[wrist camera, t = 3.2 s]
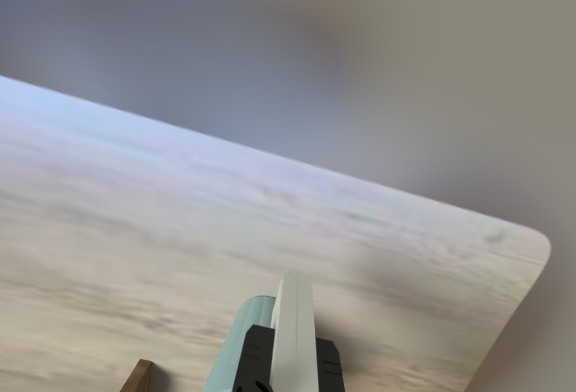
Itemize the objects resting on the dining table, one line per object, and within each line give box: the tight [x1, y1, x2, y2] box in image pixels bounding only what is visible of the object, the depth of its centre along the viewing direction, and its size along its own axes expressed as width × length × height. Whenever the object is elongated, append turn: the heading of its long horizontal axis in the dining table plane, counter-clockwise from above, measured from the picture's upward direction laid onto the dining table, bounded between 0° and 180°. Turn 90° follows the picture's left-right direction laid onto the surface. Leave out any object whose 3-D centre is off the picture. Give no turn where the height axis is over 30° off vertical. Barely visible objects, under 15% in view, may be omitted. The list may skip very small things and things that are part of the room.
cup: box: [202, 296, 276, 392], centre depth 23 cm, size 8×8×10 cm
